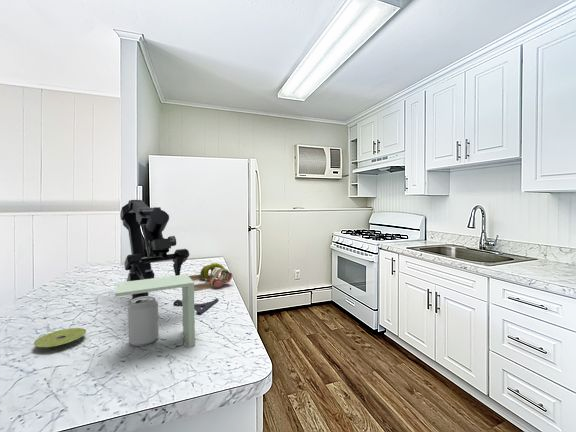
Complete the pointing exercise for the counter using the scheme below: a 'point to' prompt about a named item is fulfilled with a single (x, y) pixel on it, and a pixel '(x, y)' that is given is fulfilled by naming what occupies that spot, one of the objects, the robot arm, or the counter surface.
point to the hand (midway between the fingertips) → (163, 282)
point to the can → (143, 320)
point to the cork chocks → (200, 286)
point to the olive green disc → (60, 337)
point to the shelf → (164, 284)
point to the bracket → (199, 305)
